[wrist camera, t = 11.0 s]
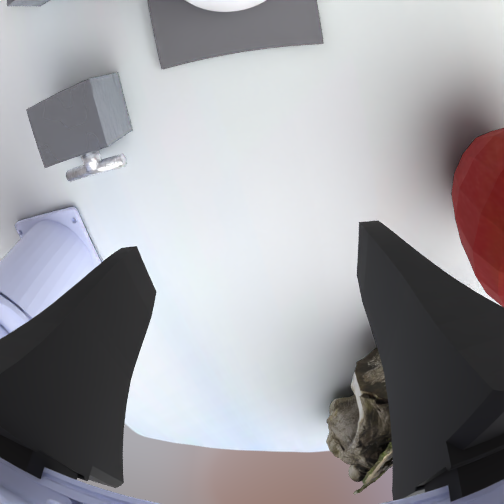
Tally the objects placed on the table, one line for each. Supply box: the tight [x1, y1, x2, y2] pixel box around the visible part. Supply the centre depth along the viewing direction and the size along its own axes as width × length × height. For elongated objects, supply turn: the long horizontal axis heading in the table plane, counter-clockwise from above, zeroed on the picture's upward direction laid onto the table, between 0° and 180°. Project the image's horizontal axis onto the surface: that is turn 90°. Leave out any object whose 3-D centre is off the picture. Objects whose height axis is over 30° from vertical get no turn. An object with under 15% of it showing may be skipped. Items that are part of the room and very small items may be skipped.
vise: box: [7, 0, 133, 181], centre depth 12 cm, size 17×5×4 cm, turn 9°
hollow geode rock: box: [326, 348, 393, 494], centre depth 28 cm, size 28×13×15 cm
